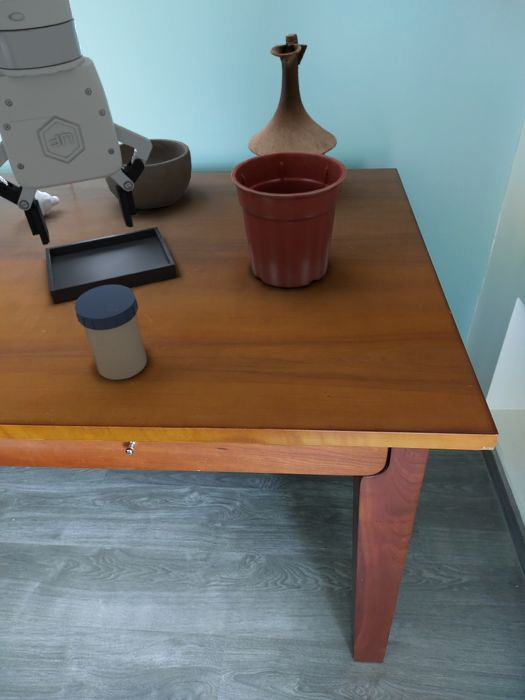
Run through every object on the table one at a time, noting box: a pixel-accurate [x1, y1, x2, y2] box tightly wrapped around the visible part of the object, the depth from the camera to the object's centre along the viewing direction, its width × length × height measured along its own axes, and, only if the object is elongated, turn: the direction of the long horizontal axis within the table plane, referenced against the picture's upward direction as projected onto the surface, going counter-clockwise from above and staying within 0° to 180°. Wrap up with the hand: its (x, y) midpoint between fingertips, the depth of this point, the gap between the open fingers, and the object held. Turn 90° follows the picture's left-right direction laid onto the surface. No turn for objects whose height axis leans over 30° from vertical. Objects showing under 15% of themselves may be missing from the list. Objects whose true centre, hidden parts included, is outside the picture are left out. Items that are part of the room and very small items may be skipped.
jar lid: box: [74, 285, 139, 330], centre depth 63 cm, size 7×7×2 cm
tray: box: [44, 226, 178, 305], centre depth 87 cm, size 19×14×2 cm
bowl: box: [104, 138, 193, 210], centre depth 105 cm, size 17×18×10 cm
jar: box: [83, 313, 148, 381], centre depth 66 cm, size 6×6×10 cm
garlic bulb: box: [35, 189, 60, 217], centre depth 102 cm, size 6×6×5 cm
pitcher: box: [247, 33, 338, 156], centre depth 99 cm, size 18×17×28 cm
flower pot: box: [230, 151, 347, 289], centre depth 80 cm, size 16×16×16 cm
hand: (87, 229), depth 57 cm, fingers open, 8 cm apart
